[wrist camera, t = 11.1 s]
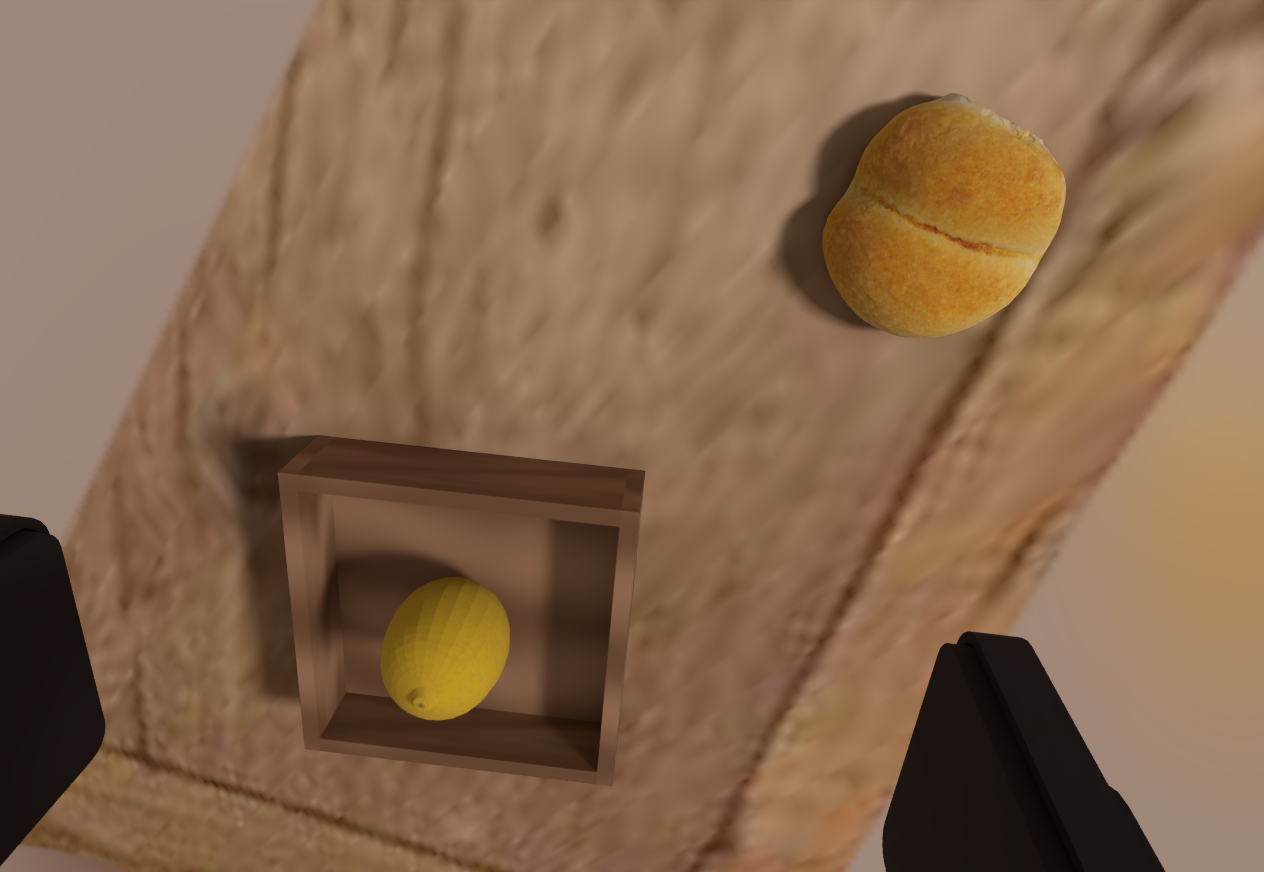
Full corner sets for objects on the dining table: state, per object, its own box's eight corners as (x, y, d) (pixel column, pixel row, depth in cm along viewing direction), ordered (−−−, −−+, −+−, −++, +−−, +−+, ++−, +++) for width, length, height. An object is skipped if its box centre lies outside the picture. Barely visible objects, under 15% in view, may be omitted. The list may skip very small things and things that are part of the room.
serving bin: (317, 435, 39) (277, 472, 35) (645, 471, 38) (639, 512, 35) (336, 694, 45) (305, 748, 41) (618, 728, 45) (612, 786, 41)
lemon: (400, 613, 42) (337, 725, 34) (438, 529, 40) (380, 629, 32) (499, 656, 42) (458, 775, 35) (541, 576, 40) (508, 684, 33)
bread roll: (789, 281, 35) (800, 304, 31) (902, 68, 31) (929, 66, 27) (960, 360, 35) (990, 393, 32) (1089, 162, 32) (1139, 172, 28)
